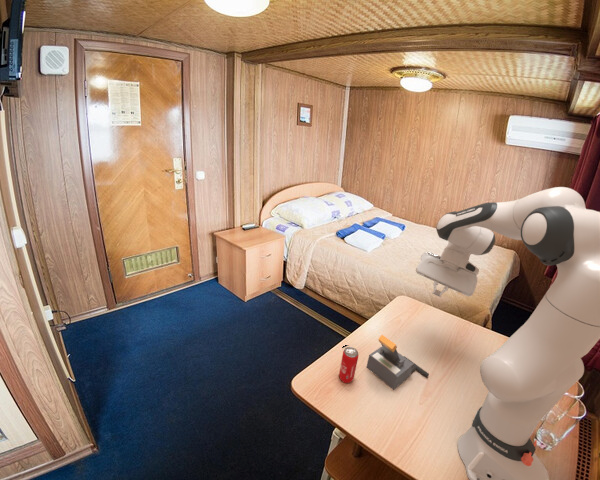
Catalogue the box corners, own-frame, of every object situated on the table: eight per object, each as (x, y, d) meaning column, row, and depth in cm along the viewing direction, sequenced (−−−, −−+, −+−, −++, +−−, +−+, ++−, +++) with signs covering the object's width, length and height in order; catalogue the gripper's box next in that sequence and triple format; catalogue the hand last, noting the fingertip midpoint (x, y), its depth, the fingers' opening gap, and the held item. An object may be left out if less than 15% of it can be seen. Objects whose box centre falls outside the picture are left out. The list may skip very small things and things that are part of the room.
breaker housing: (412, 374, 110) (418, 356, 107) (393, 389, 103) (399, 371, 100) (385, 353, 119) (390, 336, 115) (366, 367, 112) (370, 349, 108)
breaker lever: (401, 360, 106) (396, 344, 98) (397, 365, 106) (392, 349, 98) (387, 350, 111) (381, 334, 102) (383, 354, 110) (377, 338, 102)
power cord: (428, 376, 110) (429, 373, 109) (420, 383, 107) (421, 379, 106) (402, 357, 118) (403, 354, 117) (395, 363, 114) (395, 360, 114)
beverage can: (353, 385, 104) (358, 359, 99) (338, 382, 104) (342, 355, 100) (353, 373, 108) (359, 348, 103) (339, 370, 109) (344, 344, 104)
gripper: (424, 247, 112) (408, 280, 111) (484, 271, 103) (467, 307, 101) (424, 252, 118) (408, 283, 116) (480, 275, 108) (464, 309, 107)
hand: (436, 295), depth 109 cm, fingers closed
